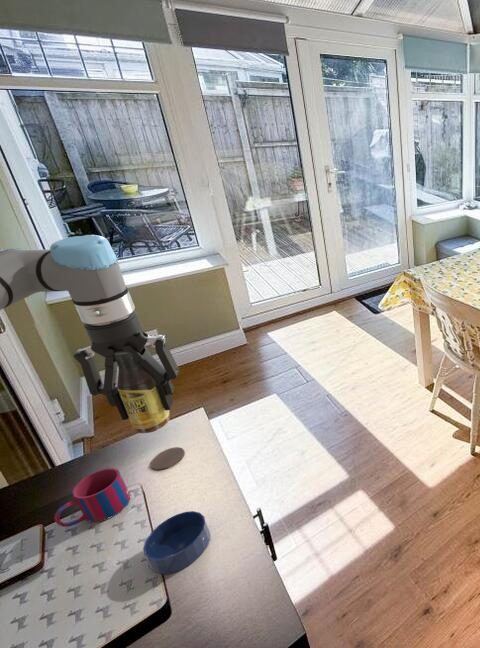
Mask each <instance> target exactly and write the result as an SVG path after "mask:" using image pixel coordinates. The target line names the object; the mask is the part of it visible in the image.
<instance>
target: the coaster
mask: <svg viewBox="0 0 480 648" xmlns="http://www.w3.org/2000/svg"><path fill="white" fill-rule="evenodd" d="M185 455H186V454H185V450H184V448H182V447H179V446H178V447H177V446H176V447H170V448H167V449H165V450H163V451H161V452H159V453H158V454H156V455H155V456H154V457H153V458H152V460H151V462H150V467H151V469H153V470H154V471H162V470H167V469H170V468H172V467H174V466H175V465H177V464H179V462H180V461H181V460H182V459H183V458H184V457H185Z"/></svg>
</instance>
